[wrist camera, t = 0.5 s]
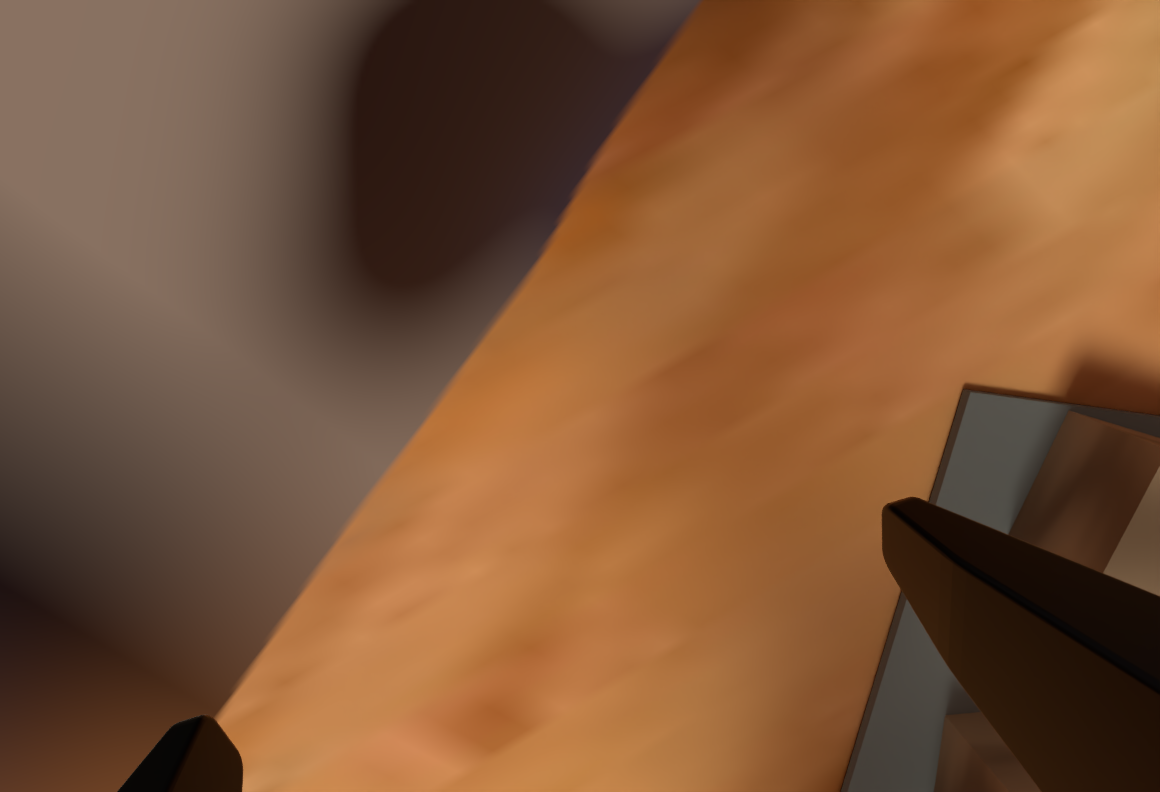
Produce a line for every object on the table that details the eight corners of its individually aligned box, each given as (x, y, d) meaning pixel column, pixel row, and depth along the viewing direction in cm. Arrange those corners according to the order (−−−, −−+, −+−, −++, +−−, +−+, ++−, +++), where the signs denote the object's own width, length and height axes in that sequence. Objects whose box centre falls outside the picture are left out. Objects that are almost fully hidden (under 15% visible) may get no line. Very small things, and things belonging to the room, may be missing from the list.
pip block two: (1118, 564, 28) (1223, 628, 24) (1007, 535, 27) (1097, 597, 23) (1182, 444, 27) (1303, 490, 23) (1068, 410, 26) (1174, 452, 22)
